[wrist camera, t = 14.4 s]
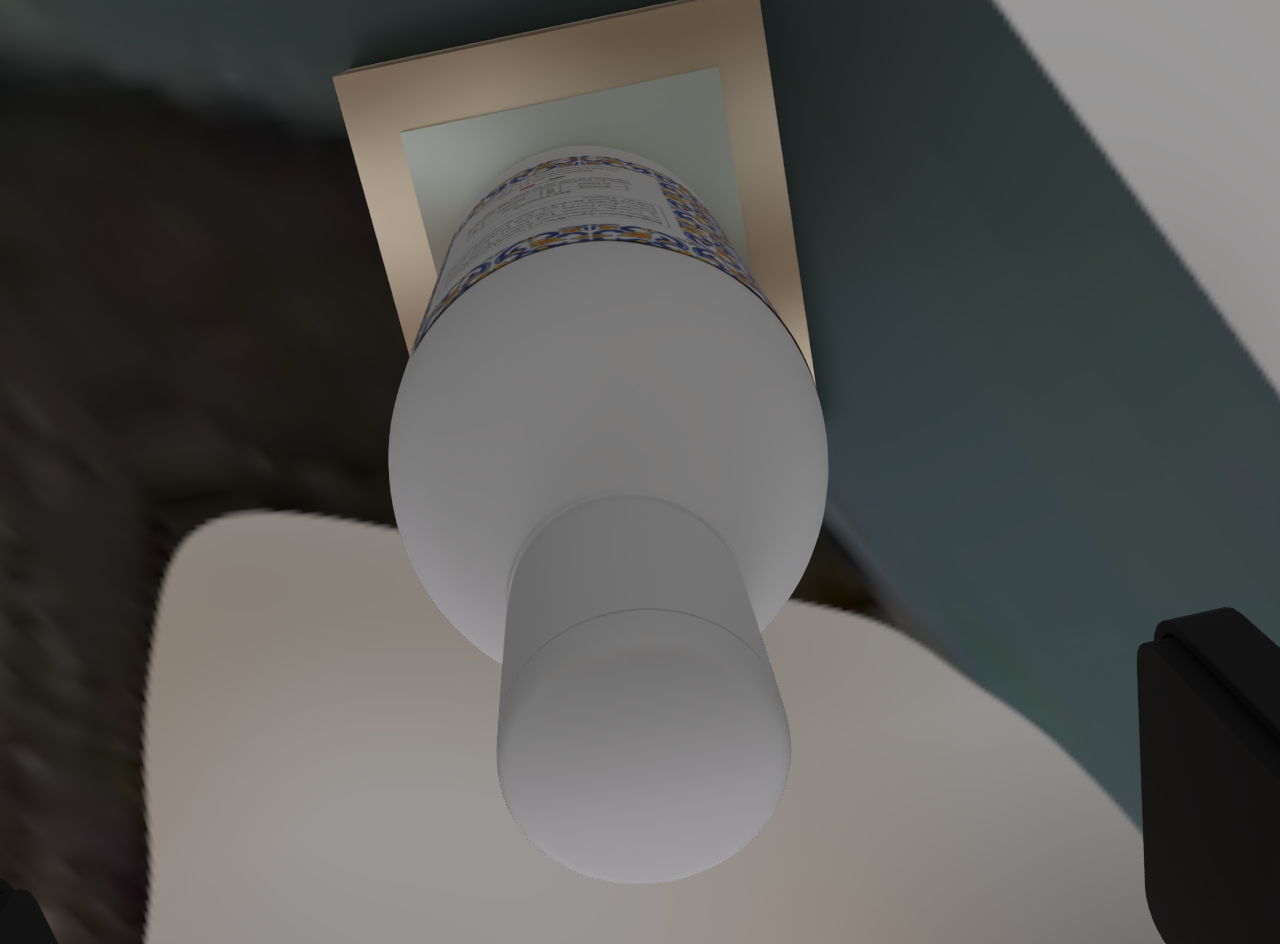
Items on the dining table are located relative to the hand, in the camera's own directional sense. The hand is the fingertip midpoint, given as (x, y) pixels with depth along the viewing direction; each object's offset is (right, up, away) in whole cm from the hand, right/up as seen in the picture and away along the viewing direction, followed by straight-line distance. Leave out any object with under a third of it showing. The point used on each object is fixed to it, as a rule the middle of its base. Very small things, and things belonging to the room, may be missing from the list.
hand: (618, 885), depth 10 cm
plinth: (-1, +9, +23) cm, 24 cm away
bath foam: (-1, +8, +20) cm, 22 cm away
